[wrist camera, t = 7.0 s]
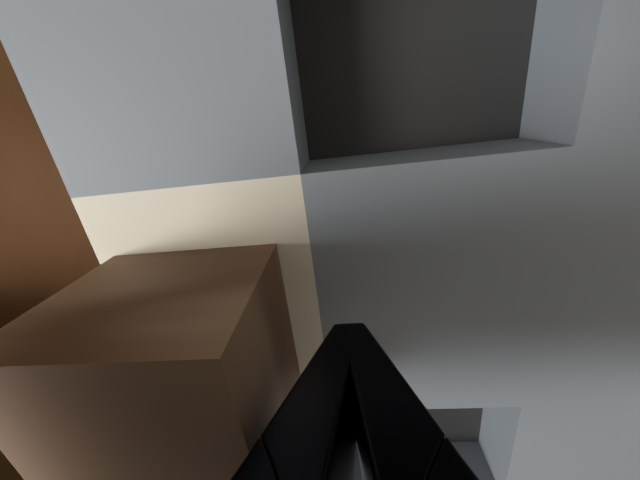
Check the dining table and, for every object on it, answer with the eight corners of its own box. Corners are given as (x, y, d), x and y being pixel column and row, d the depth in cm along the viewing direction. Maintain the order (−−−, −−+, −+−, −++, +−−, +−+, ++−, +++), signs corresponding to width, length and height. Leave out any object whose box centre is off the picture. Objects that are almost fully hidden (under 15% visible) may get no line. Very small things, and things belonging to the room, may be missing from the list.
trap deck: (879, -221, 6) (1224, -434, 4) (613, 448, 14) (668, 516, 11) (50, -54, 8) (-72, -124, 5) (228, 450, 15) (209, 510, 13)
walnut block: (276, 243, 8) (219, 358, 4) (300, 374, 10) (274, 536, 6) (114, 255, 8) (-64, 368, 5) (165, 378, 10) (64, 531, 6)
